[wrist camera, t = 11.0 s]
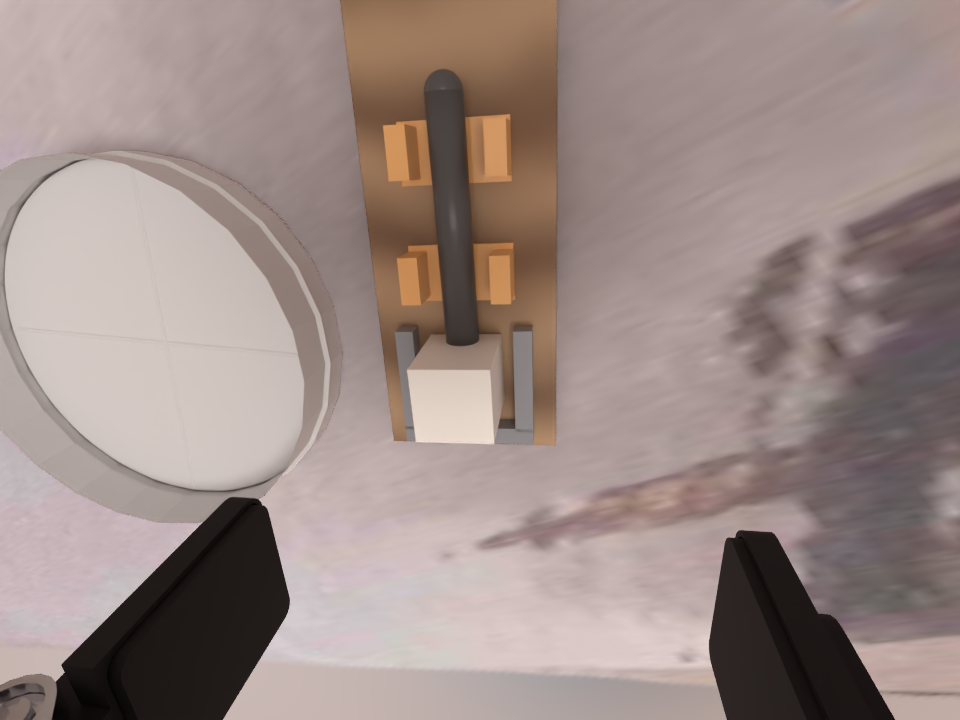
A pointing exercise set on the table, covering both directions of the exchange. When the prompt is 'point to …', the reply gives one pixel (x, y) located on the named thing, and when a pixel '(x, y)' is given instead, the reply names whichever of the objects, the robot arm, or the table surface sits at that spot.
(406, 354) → the end holder
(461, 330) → the connector
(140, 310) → the dish
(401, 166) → the clip
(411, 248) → the clip
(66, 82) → the table surface
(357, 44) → the board
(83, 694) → the robot arm
